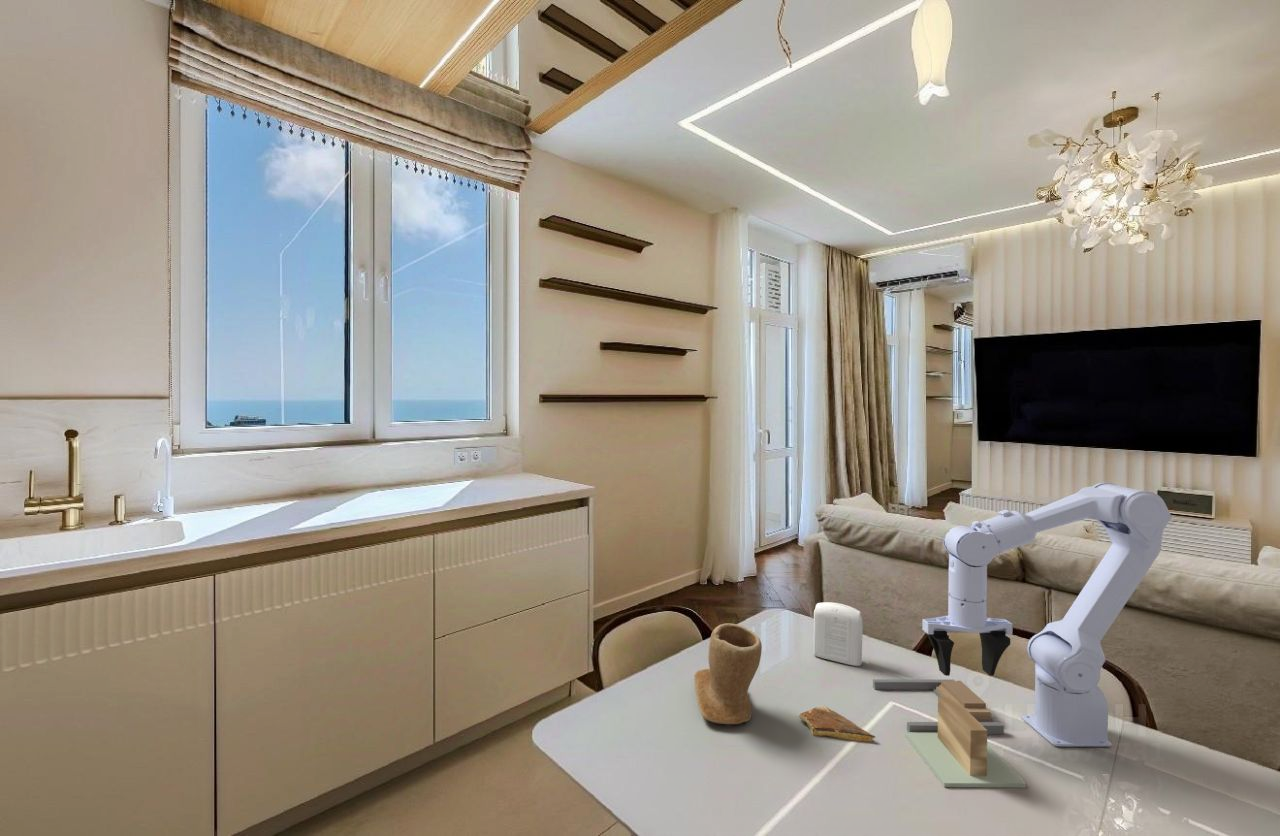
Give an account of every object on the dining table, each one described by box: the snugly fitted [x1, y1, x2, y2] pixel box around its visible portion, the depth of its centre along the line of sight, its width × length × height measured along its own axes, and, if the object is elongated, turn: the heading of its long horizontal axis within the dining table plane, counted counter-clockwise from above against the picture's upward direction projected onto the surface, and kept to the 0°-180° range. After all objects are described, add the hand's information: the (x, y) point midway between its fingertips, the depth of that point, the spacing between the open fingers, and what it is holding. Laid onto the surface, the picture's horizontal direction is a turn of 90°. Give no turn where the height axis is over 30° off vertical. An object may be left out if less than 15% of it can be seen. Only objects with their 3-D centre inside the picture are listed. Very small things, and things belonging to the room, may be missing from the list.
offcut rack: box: [872, 678, 1005, 735], centre depth 98 cm, size 16×15×3 cm
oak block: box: [937, 696, 988, 776], centre depth 84 cm, size 2×9×7 cm, turn 179°
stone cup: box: [693, 623, 763, 725], centre depth 100 cm, size 15×12×15 cm
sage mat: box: [904, 731, 1027, 788], centre depth 85 cm, size 12×12×1 cm
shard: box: [798, 706, 876, 742], centre depth 92 cm, size 11×8×2 cm
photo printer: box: [812, 601, 863, 667], centre depth 117 cm, size 10×4×12 cm, turn 59°
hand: (966, 672), depth 93 cm, fingers open, 7 cm apart
